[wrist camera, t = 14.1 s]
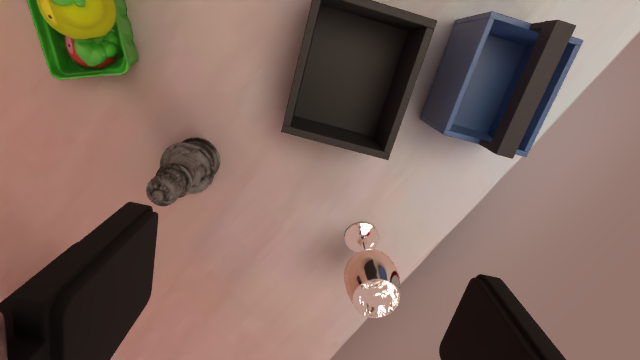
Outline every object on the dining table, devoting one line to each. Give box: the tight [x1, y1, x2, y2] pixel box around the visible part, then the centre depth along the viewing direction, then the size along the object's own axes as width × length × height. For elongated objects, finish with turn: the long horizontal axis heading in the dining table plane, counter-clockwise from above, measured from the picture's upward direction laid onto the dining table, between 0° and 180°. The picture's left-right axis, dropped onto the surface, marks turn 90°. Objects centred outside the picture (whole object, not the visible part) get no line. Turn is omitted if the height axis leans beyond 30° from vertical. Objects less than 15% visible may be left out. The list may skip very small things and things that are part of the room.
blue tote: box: [420, 11, 583, 158], centre depth 33 cm, size 11×9×12 cm
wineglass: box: [344, 222, 400, 318], centre depth 40 cm, size 6×6×12 cm
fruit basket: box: [27, 0, 138, 80], centre depth 31 cm, size 11×9×11 cm
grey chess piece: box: [146, 138, 220, 206], centre depth 36 cm, size 6×6×12 cm
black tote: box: [281, 0, 437, 160], centre depth 35 cm, size 13×11×7 cm
